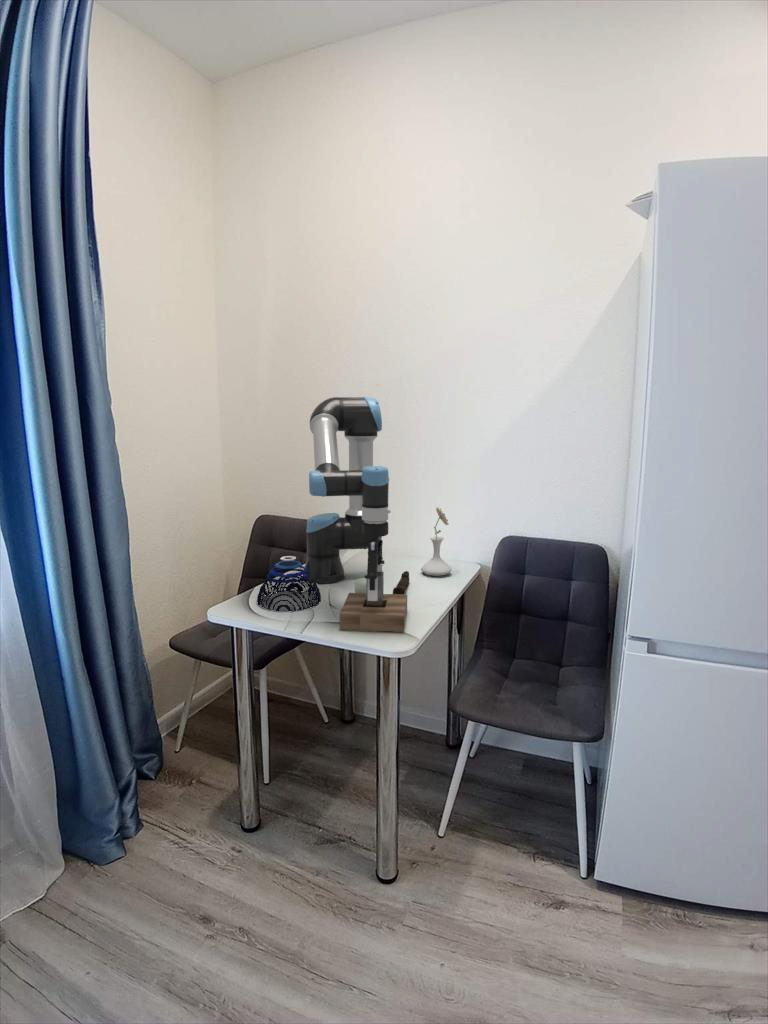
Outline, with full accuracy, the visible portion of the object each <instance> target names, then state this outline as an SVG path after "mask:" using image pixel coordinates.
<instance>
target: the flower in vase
mask: <svg viewBox="0 0 768 1024" xmlns="http://www.w3.org/2000/svg"><path fill="white" fill-rule="evenodd" d="M435 510H436V513H437V515H438V519H437V521H436V523H435V526H433V528H434V532H435V533H434V535H435V536H431V537H429V538H430V540H431V543H432V546H433V553H432V554H433V555H432V557H431V558H430V560H428V561H427V562H425V563H424V564H423V565H422V566H421V569H420V570H421V572H422V573H423V574H425V575H428V576H434V577H435V576H436V577H440V576H446V575H449V574H451V572H452V568H451V566H450V565H449V564H448V563H447V562H446V561H445V560H443V559H442V558H441V555H440V552H441V551H440V550H441V545H442V541H444V540H445V539H444V537H442V536H438V534H440V533H441V532H442V530H440V529H439V530H438V531H437V525H438V523H439V521H440V520H441V521H442V523H443V524H444V525H446V526H448V525H449V520H448V519H447V517H446V514H445V513H443V511H442V509H441V508H439V507H438V506H437V507H435Z"/></svg>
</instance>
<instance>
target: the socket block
mask: <svg viewBox="0 0 768 1024" xmlns="http://www.w3.org/2000/svg"><path fill="white" fill-rule="evenodd" d="M407 615H408V594H406V593H405V594H393V593H383V608H382V607H366V593H355V592H348V594H347V597H346V599H345V600H344V603H343V605H342V607H341V609H340V611H339V631H347V630H348V631H349V632H351V631H352V632H353V631H354V632H373V631H394V632H393V633H399V632H404V633H405V630H404V629H406V623H407V622H406V621H407ZM405 622H406V623H405Z"/></svg>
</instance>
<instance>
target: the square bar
mask: <svg viewBox="0 0 768 1024" xmlns="http://www.w3.org/2000/svg"><path fill="white" fill-rule="evenodd" d="M370 574H374V573H370ZM384 577H385V576H384V571H382V572H377V578H378V600H377V601H368V579H366V607H382V608H383V594H384V581H385V580H384Z"/></svg>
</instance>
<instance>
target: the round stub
mask: <svg viewBox="0 0 768 1024" xmlns="http://www.w3.org/2000/svg"><path fill="white" fill-rule="evenodd" d="M354 593H366V579H365V577H361V578H357V579H355V580H354Z"/></svg>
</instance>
